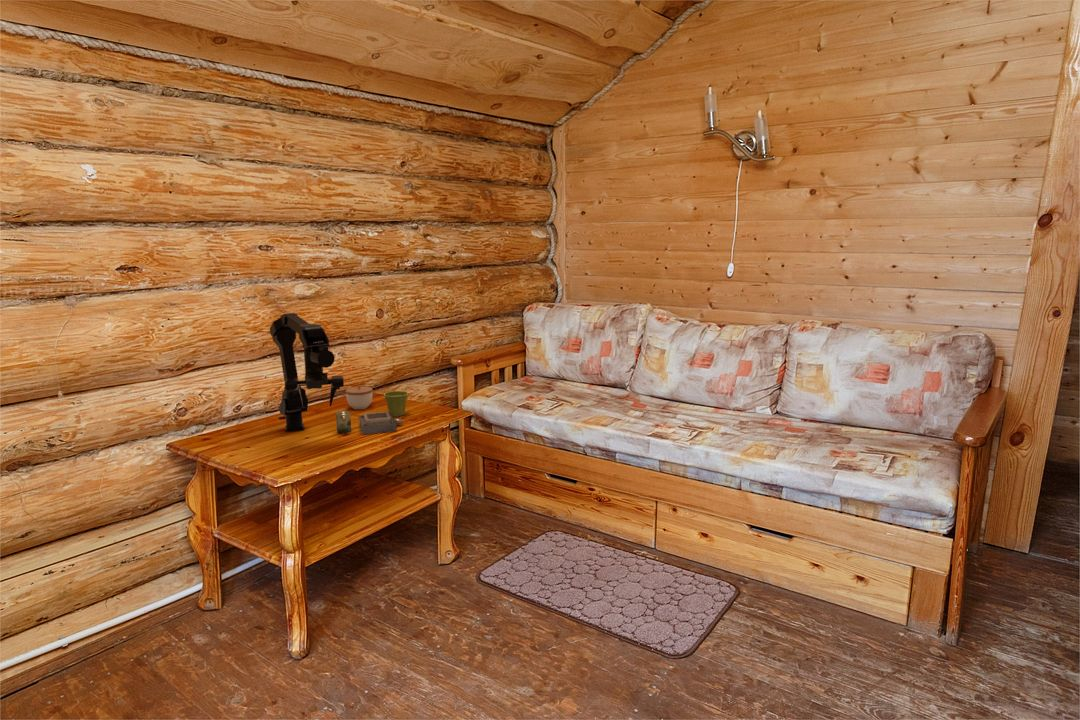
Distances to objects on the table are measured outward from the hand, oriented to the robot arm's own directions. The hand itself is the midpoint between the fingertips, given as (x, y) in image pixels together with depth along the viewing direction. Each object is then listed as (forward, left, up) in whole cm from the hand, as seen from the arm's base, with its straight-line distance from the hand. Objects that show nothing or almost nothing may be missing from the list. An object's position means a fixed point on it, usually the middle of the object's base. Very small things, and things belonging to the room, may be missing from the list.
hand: (316, 407), depth 220 cm
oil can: (-9, +9, -13) cm, 18 cm away
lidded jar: (-41, +17, -13) cm, 46 cm away
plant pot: (-25, +30, -13) cm, 41 cm away
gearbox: (-10, +22, -12) cm, 28 cm away
